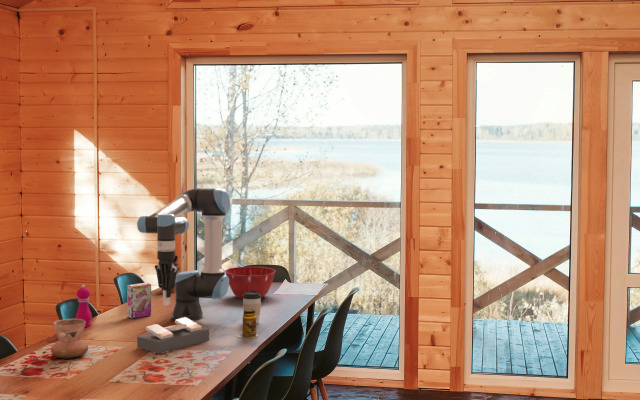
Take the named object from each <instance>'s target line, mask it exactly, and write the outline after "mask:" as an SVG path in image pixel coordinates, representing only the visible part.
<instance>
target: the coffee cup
mask: <svg viewBox="0 0 640 400" xmlns="http://www.w3.org/2000/svg"><path fill="white" fill-rule="evenodd" d="M242 298H243V299H242V306H243V307H242V309H243V311H244V310H246V309H253V310H255V316H256V325H258V324H259V323H260V315H261V304H262V303H261V299H262V298H261V295H260V294H259V293H258V292H256V291H250V292H245V294H244V295H243V297H242Z"/></svg>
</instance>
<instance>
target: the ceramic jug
mask: <svg viewBox="0 0 640 400" xmlns="http://www.w3.org/2000/svg"><path fill="white" fill-rule="evenodd" d="M84 327H85V321H84V320H82V319H76V318H65V319H59V320H56V321H54V322H53V328H54V332H55V335H56V337H57V339H58V340H57V341H56V342H54V343H53V344H52V346H51V347H50V352H51V354H52V355H53V356H54V357H56V358H59V359H75V358H78V357H81V356H83V355H85V354H86V353H87V352H88V351H89V345H88V344H87V342H85V341H84V340H83V339H81V337H82V335H83V333H84V330H85V328H84ZM74 357H75V358H74Z"/></svg>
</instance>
